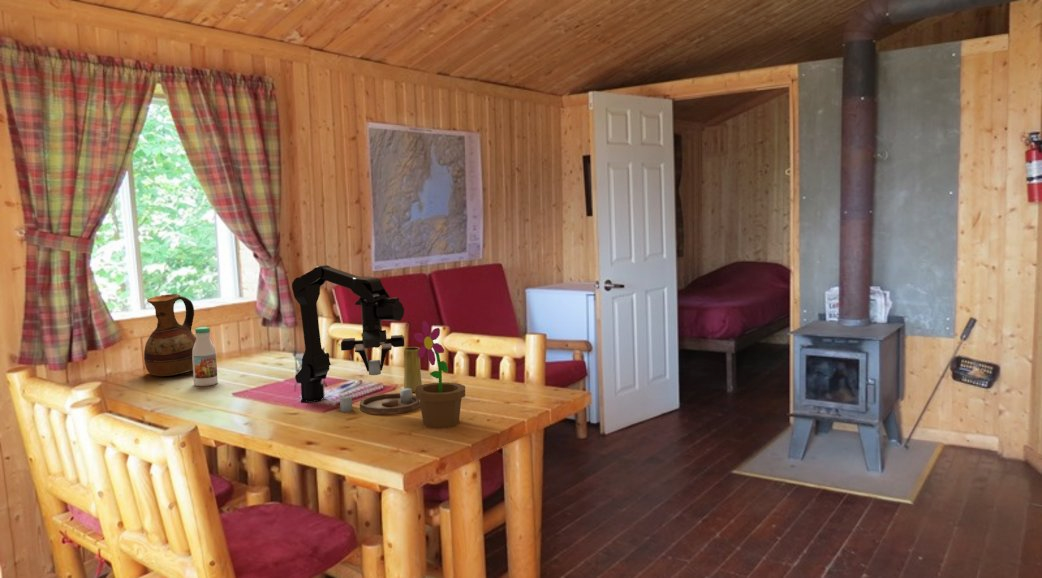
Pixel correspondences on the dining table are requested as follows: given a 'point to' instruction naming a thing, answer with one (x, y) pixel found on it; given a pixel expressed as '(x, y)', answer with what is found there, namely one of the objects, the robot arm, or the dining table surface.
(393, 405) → the tray
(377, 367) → the bead
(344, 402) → the bead
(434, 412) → the flowerpot
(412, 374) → the vase
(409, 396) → the bead seated
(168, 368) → the ceramic pitcher
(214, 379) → the milk bottle
